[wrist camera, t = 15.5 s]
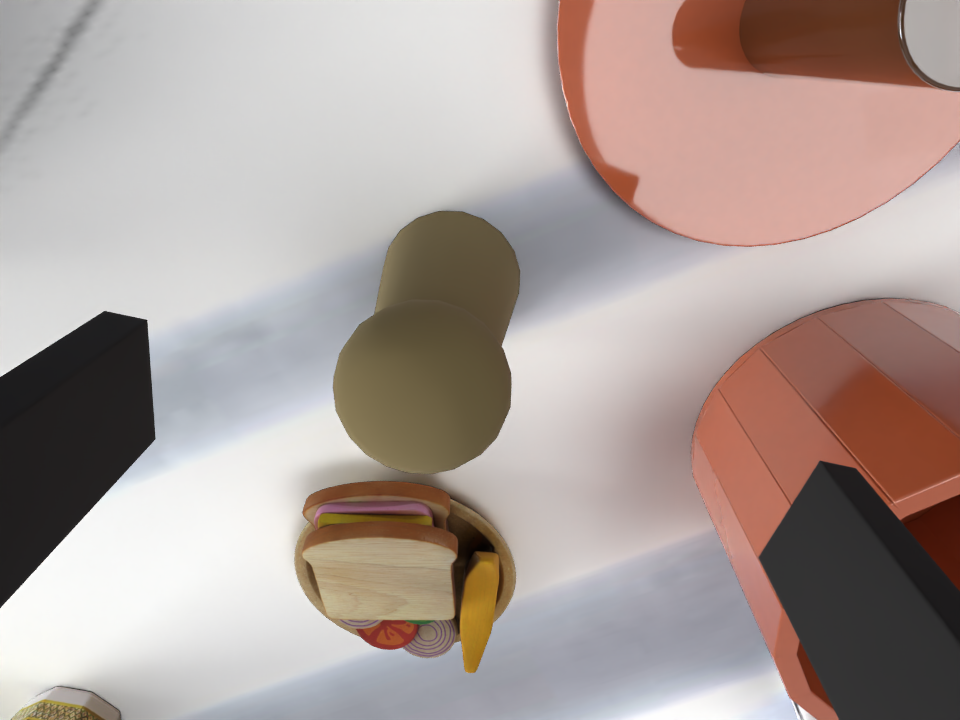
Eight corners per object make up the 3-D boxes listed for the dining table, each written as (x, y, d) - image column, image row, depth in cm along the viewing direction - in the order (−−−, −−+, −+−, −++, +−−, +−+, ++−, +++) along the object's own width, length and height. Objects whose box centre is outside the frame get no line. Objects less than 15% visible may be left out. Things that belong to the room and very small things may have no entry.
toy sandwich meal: (303, 617, 36) (276, 691, 32) (297, 446, 30) (262, 510, 25) (499, 641, 36) (498, 717, 32) (535, 476, 30) (538, 544, 26)
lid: (504, -173, 18) (498, -406, 9) (1069, -407, 15) (1888, -1084, 6) (601, 280, 25) (654, 409, 16) (1003, 175, 22) (1345, 258, 13)
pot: (668, 344, 26) (757, 504, 17) (1034, 258, 23) (1377, 390, 14) (706, 566, 32) (784, 770, 23) (996, 517, 30) (1215, 725, 21)
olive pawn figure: (512, 201, 23) (514, 304, 14) (527, 334, 26) (538, 498, 16) (368, 220, 24) (273, 332, 14) (398, 348, 27) (335, 514, 17)
